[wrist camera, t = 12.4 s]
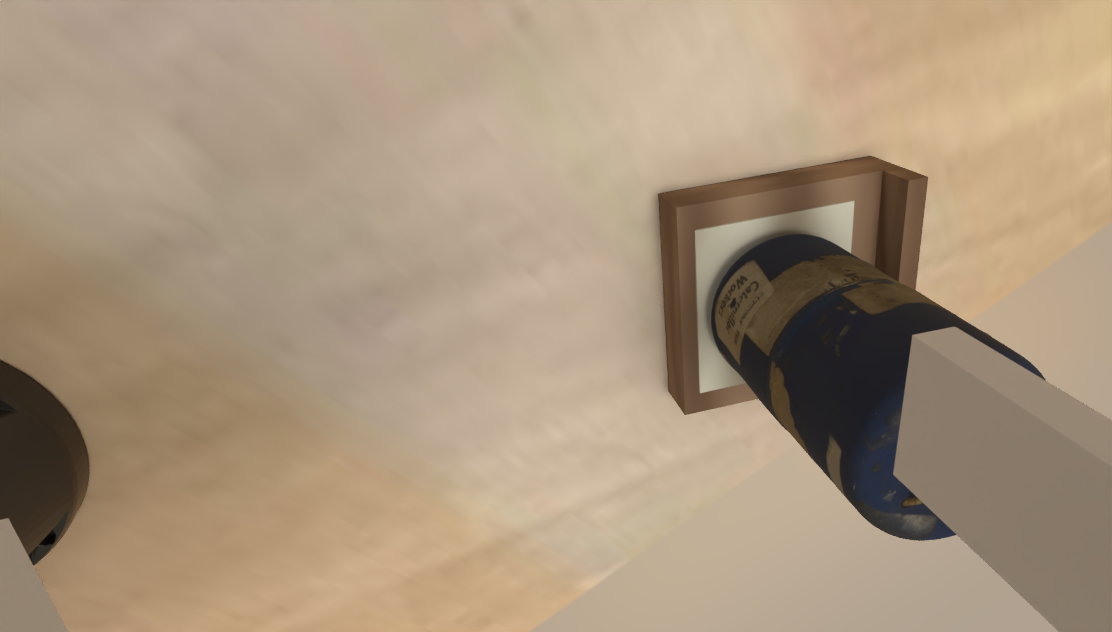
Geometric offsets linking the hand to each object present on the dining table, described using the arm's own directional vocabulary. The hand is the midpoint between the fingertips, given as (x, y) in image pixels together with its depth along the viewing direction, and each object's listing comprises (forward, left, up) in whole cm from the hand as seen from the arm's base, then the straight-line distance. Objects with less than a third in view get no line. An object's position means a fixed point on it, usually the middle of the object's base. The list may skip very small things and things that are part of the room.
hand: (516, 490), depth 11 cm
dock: (+20, -13, -32) cm, 40 cm away
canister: (+19, -13, -29) cm, 37 cm away
